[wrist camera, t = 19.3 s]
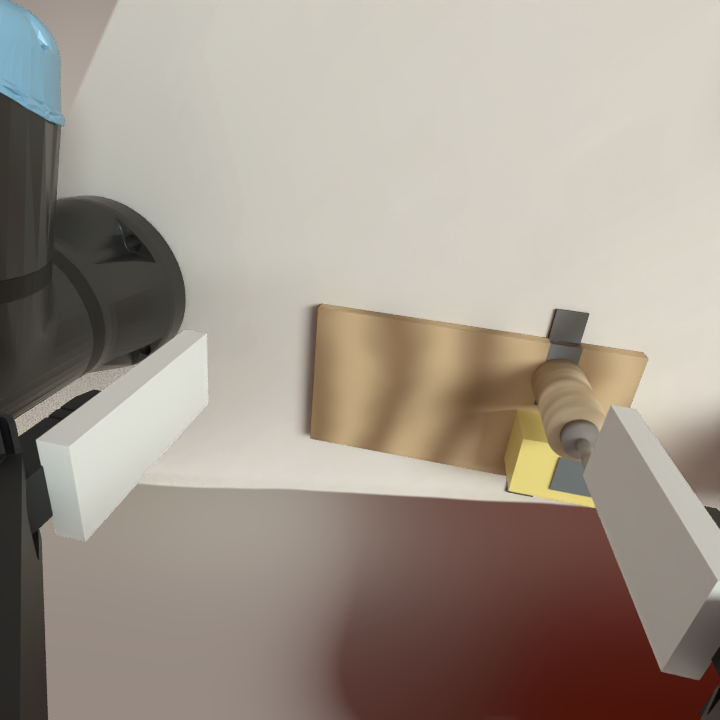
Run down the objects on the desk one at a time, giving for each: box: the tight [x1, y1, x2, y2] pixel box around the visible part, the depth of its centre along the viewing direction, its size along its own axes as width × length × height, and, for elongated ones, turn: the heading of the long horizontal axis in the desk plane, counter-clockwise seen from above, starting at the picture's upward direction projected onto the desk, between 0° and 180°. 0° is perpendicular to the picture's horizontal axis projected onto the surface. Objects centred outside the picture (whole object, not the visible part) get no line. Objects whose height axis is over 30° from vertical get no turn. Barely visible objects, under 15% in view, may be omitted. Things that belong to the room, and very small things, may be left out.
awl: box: [532, 358, 606, 470], centre depth 33 cm, size 4×4×13 cm
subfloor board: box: [310, 304, 648, 497], centre depth 42 cm, size 26×18×1 cm
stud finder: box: [504, 409, 596, 508], centre depth 39 cm, size 7×5×5 cm
